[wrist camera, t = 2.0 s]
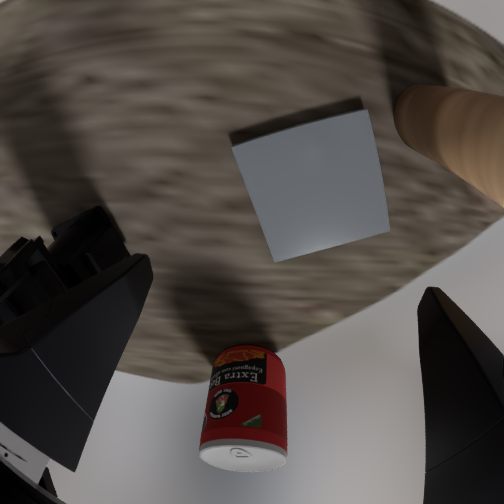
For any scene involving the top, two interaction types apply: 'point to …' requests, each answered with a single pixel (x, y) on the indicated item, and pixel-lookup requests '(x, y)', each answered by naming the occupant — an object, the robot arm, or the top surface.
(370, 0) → the top surface
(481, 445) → the robot arm
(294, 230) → the plate
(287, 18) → the top surface
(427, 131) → the pepper mill
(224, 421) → the canned food
